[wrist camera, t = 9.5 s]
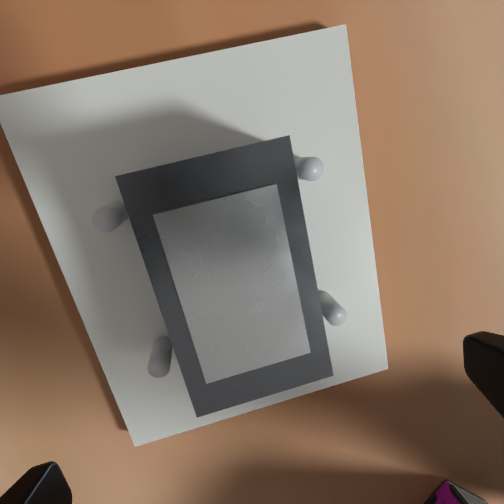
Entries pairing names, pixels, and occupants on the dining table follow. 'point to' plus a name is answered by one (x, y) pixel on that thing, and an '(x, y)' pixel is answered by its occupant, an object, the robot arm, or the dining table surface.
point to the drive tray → (185, 147)
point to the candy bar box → (454, 495)
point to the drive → (231, 271)
